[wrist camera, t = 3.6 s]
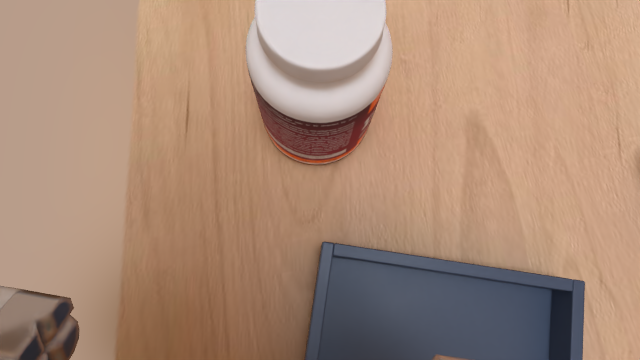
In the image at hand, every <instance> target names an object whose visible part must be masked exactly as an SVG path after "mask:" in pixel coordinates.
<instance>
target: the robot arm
mask: <svg viewBox="0 0 640 360" xmlns="http://www.w3.org/2000/svg"><path fill="white" fill-rule="evenodd" d="M73 308H74V307H73V304H72V301H71V298H67V297H61V296H56V295H50V294H45V293H39V292H33V291H28V290H22V289H16V288H10V287H4V286H0V360H69V359H70V358H71V356H72V354H73V352H74V350H75V348H76V344H77V342H78V339H79V326H78V321H76V320H75V319H74V318H73V317H72V316H71V315H70V313H71V311H72V310H73ZM432 360H474V359H466V358H459V357H452V356H445V355H438V354H436V355H435V356H433V358H432Z"/></svg>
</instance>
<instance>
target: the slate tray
mask: <svg viewBox="0 0 640 360" xmlns="http://www.w3.org/2000/svg"><path fill="white" fill-rule="evenodd" d="M584 290H585V282H584V281H580V280H572V279H567V278H560V277H554V276H547V275H540V274H534V273H527V272H521V271H514V270H508V269H501V268H494V267H488V266H481V265H475V264H468V263H462V262H455V261H448V260H442V259H435V258H429V257H422V256H415V255H409V254H402V253H396V252H389V251H383V250H376V249H369V248H363V247H356V246H350V245H343V244H337V243H335V244H334V243H330V242H323V243H322V245H321V251H320V258H319V265H318V272H317V278H316V285H315V292H314V299H313V305H312V312H311V319H310V326H309V333H308V339H307V346H306V353H305V360H432V358H433V356H435V355H436V354H438V355H445V356H452V357H459V358H466V359H474V360H582V355H583V323H584Z"/></svg>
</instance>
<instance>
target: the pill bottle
mask: <svg viewBox="0 0 640 360" xmlns="http://www.w3.org/2000/svg"><path fill="white" fill-rule="evenodd" d="M385 21H386V2H385V0H256V1H255V17H254V19H253V21H252V23H251V26H250V28H249V31H248V35H247V40H246V61H247V66H248V71H249V75H250V78H251V82H252V85H253V88H254V92H255V95H256V98H257V102H258V105H259V109H260V112H261V116H262V119H263V123H264V126H265V128H266V131H267V133H268V135H269V136H270V138H271V140H272V141H273V143H274V144H275V145H276V147H277V148H278V149H279V150H280V151H282V152H283V153H284V154H285V155H287V156H288V157H290V158H292V159H294V160H296V161H299V162H303V163H307V164H327V163H331V162H334V161H337V160H340V159H342V158H343V157H345V156H347V155H348V154H350V153H351V152H352V151H353V150H354V149H355V148H356V147H357V146H358V145H359V144H360V142H361V141H362V139H363V137H364V135H365V134H366V132H367V129H368V127H369V124H370V121H371V119H372V116H373V114H374V111H375V109H376V106H377V103H378V101H379V98H380V96H381V93H382V91H383V88H384V86H385V83H386V81H387V78H388V75H389V72H390V68H391V64H392V41H391V36H390V32H389V30H388V27H387V25H386V22H385Z"/></svg>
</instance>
